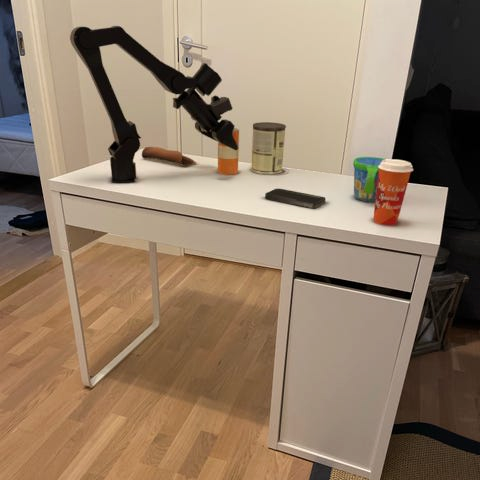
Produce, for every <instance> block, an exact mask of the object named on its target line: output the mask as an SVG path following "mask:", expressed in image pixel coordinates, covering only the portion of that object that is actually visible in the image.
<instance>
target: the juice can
mask: <svg viewBox="0 0 480 480" xmlns="http://www.w3.org/2000/svg"><path fill="white" fill-rule="evenodd" d="M232 135H233V137H234V139H235V141H236V144H237V146H238V149H237V150H234V149H232V148H230V147H228V146H226V145H224V144H222V143H219V142H217V173H218V174H220V175H225V176H226V175H227V176H232V175H233V176H234V175H237V174H238V173H239V153H240V129H238V128H236V127H234V130H233V132H232Z"/></svg>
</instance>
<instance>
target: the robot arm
mask: <svg viewBox="0 0 480 480" xmlns="http://www.w3.org/2000/svg"><path fill="white" fill-rule="evenodd" d="M69 41H70V44H71V46H72V47H73V49H74V51H75V52H76V55H78V58H79V59H80V60H81V61H82V63H83V64H84V66H85V67H86V68H87V71H88V73H89V75H90V77H91V80H92V82H93V84H94V86H95V88H96V91H97V94H98V95H99V97H100V100H101V102H102V104H103V107H104V109H105V112H106V115H107V117H108V118H109V120H110V125H111V132H112V135H113V140H114V141H112V143H111V144H110V145H109V147H108V148H107V151H108V153H109V155H110V156H111V157H110V158H109V163H110V171H111V179H110V180H111V181H110V182H111V183H135V180H137V165H136V162H135V161H134V159H135V155H136V153H137V152H138V151H139V150H140V147H141V141H140V140H141V139H142V137H141V136H140V134H139V132H138V130H137V126H136V123H135V122H133V121H131V120H127V119H126V117H125V115H124V112H123V110H122V107H121V104H120V103H119V100H118V98H117V96H116V93H115V90H114V89H113V86H112V84H111V81H110V78H109V76H108V74H107V71H106V69H105V66H104V63H103V58H102V52H101V51H102V50H101V48H100V47H107V46H111V45H116V46H117V47H118V48H120V49H121V50H122V51H123V52H124V53H126V54H127V55H128V56H130V57H131V58H132V59H133V60H135V61H136V62H137V63H138V64H139V65H141V66H142V67H143V68H145V69H146V71H148V72H149V73H150V74H151V75H152V77H154V79H155V80H156V82H157V83H158V84H159V85H160V86H161V87H162V88H163V90H165V91H167V92H168V93H171V94H173V95H178V96H177V97H173V98H172V107H173V108H174V109H176V110H179V109H180V108H181V107H182V108H183V109H184V110H185V111H186V113H187V114H188V115H189V116H190V119H191V120H192V121H194V122H195V123H194V129H195V130H196V131H197V132H198V133H200V134H201V135H203V136H205V137H207V138H209V139H211V140H213V141H216V142H217V143H218V142H219V143H222V144H224V145H226V146H228V147H230V148H232V149H234V150H237V149H238V146H237V144H236V141H235V139H234V137H233V135H232V132H233V130H234V128H236V127H235V125H234V123H233V122H232V120H229V119H222V117H223V116H222V115H224V114H226V113H228V112H230V111H232V110H233V109H234V108H233V106H232V103H231V100H230V98H229V97H227V96H220V97H219V96H218V95H213V96H211V98H210V103H207V102H206V101H205V99H204V98H203V97H205V96H207V97H210V95H212V93H213V92H214V91H215V90H216V88H217V87H218V86H219V85H220V84H221V83H222V81H223V79H222V77H221V76H220V74H219V73H218V72H217V71H215V70H214V69H213V68H212V67H211V66H209V65H208V63H206V62H203V63H202V64H200V67H199V68H198V70H197V71H196V72H195V73H194V75H192V76H189V75H185V74H184V73H183V72H182V71H179V70H177V69H176V68H174V67H173V66H170V65H169V64H167V63H165V62H163V61H161V60H160V59H159V58H158V57H156V56H155V55H154V54H153V53H152V52H150V51H149V49H147V48H146V47H144V46H143V45H142V44H141V43H140V42H139V41H137V40H136V39H134V37H132V36H131V35H130V34H129V33H127V32H126V30H125V29H124V28H123V27H121V26H120V25H111V26H110V27H102V28H95V29H92V28H90V27H88V26H76V27H74V28H73V29H72V30H71V31H70V34H69ZM200 95H201V96H200Z"/></svg>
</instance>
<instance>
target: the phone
mask: <svg viewBox="0 0 480 480" xmlns="http://www.w3.org/2000/svg"><path fill="white" fill-rule="evenodd" d="M264 198H265V199H266V200H271V201H276V202H281V203H285V204H290V205H295V206H299V207H305V208H309V209H317V208H318V207H320V206H322V205H324V204H325V203H326V197H325V196H320V195H315V194H311V193H304V192H301V191H295V190H291V189H290V190H289V189H284V188H274V189H272V190H270V191H267V192H265V195H264Z"/></svg>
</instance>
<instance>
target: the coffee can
mask: <svg viewBox="0 0 480 480" xmlns="http://www.w3.org/2000/svg"><path fill="white" fill-rule="evenodd" d="M286 128H287V125H286V124H283V123H280V122H271V121H270V122H269V121H268V122H267V121H266V122H265V121H264V122H263V121H262V122H254V123H253V124H252V147H251V167H250V171H251V172H253V173H255V174H260V175H277V174H282V173H283V163H284V150H285V136H286Z"/></svg>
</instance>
